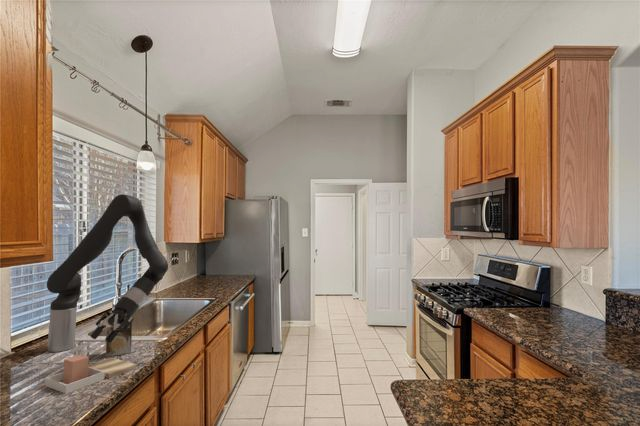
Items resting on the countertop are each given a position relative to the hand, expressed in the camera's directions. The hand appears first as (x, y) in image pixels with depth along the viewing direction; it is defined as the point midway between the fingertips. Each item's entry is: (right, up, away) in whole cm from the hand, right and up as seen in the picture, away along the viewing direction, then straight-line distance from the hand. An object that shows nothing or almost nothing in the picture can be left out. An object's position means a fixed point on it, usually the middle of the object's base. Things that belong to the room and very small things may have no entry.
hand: (99, 339), depth 122 cm
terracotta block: (-3, -12, -7) cm, 14 cm away
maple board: (+2, -12, +3) cm, 13 cm away
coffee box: (-6, -13, +20) cm, 25 cm away
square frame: (-3, -12, -7) cm, 14 cm away
